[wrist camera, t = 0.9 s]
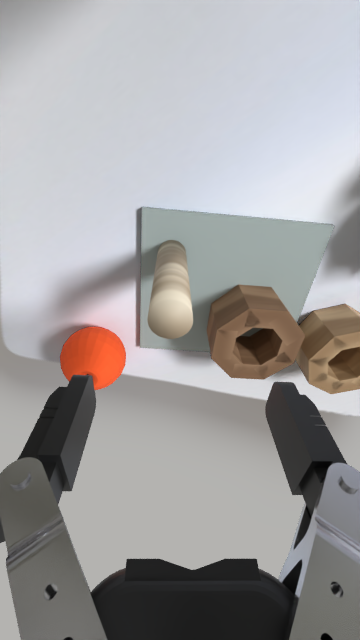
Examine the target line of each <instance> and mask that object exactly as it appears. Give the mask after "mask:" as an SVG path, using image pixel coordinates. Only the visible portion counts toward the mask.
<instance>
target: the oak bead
mask: <svg viewBox="0 0 360 640" xmlns="http://www.w3.org/2000/svg"><path fill="white" fill-rule="evenodd" d="M299 327H300V328H301V330H302V331H303V333H304V334H305V337H304V340H303V342H302V345H301V347H300V349H299V352H298V354H297V356H296V359H295V360H296V362H297V363H298V365H299V367H300V369H301V370H302V372H303V374H304V376H305V378H306V379H307V381H308V383H309V384H311V385H313V386H315V387H317V388H319V389H321V390H323V391H326V392H328V393H330V394H335V393H340V392H346V391H351V390H357V389H360V313H359V312H358V311H356V310H354V309H353V308H351V307H350V306H348V305H346V304H342V305H338V306H333V307H329V308H324V309H320V310H315V311H313V312H312V313H311V314H310V315H309V316H308V317H307V318H306V319H305V320H304V321H303V322H302V323H301V324H300V325H299Z"/></svg>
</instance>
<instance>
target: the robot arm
mask: <svg viewBox="0 0 360 640" xmlns="http://www.w3.org/2000/svg"><path fill="white" fill-rule="evenodd" d="M95 408H96V398H95V391H94V384H93V377H92V375H73V376H72V377H71V380H70V382H69V384H68V386H67V387H59V388H57V389H56V391H54V392H53V393H52V394H51V395H50V397H49V398H48V400H47V402H46V404H45V406H44V410H42V413H41V414H40V418H39V419H38V421H37V423H36V425H35V427H34V429H33V431H32V433H31V435H30V437H29V439H28V441H27V443H26V445H25V447H24V449H23V451H22V453H21V455H20V457H19V458H18V459H17V461H15V462H13V463H11V464H10V465H8V466H7V467H6V468H5V469H4V470H3V471H2V472H1V473H0V543H1V542H4V541H6V546H7V551H8V557H7V559H6V566H7V573H8V578H9V583H10V588H11V593H12V598H13V603H14V607H15V612H16V617H17V623H18V627H19V632H20V637H21V640H360V472H359V471H358V470H356V469H355V468H353V467H352V466H350V465H348V464H347V463H346V461H345V460H344V458H343V456H342V454H341V452H340V450H339V448H338V447H337V445H336V443H335V441H334V440H333V437H332V435H331V434H330V432H329V430H328V428H327V427H326V426H325V425H326V424H325V423H324V421H323V419H322V418H321V415H320V413H319V411H318V410H317V408H316V406H315V404H314V403H313V402H312V401H311V400H310V399H309V398H308V397H307V396H306V395H300V394H299V392H298V390H297V388H296V386H295V385H294V383H292V382H274V384H273V386H272V389H271V392H270V395H269V397H268V400H267V403H266V418H267V421H268V424H269V427H270V430H271V433H272V436H273V439H274V442H275V445H276V448H277V451H278V454H279V457H280V460H281V463H282V465H283V468H284V471H285V474H286V477H287V480H288V483H289V486H290V489H291V492H292V495H303V497H304V500H305V504H304V507H303V510H302V513H301V516H300V519H299V523H298V526H297V529H296V533H295V536H294V539H293V542H292V546H291V549H290V552H289V554H288V557H287V559H286V561H285V563H284V565H283V568H282V570H281V573H280V576H279V579H276V578H275V577H273V576H272V575H270V574H269V573H267V572H265V571H263V570H261V569H258V564H257V559H224V560H221V561H218V562H215V563H213V564H210V565H207V566H204V567H202V568H199V569H196V570H190V569H187V568H184V567H181V566H178V565H175V564H172V563H169V562H167V561H164V560H161V559H127V562H126V568H124V569H122V570H119V571H117V572H115V573H113V574H112V575H110V576H109V577H107V578H106V579H104V580H103V581H102V582H101V583H100V584H99V585H97V586H96V587H95V588H94V589H93V591H92V592H90V589H89V586H88V584H87V581H86V578H85V576H84V573H83V571H82V568H81V565H80V562H79V560H78V557H77V554H76V552H75V549H74V547H73V544H72V541H71V539H70V536H69V533H68V530H67V528H66V525H65V522H64V520H63V517H62V514H61V512H60V509H59V507H58V503H59V500H60V497H61V494H62V491H72V488H73V484H74V481H75V477H76V474H77V471H78V467H79V464H80V461H81V457H82V454H83V450H84V447H85V444H86V440H87V437H88V434H89V430H90V427H91V423H92V420H93V417H94V413H95Z"/></svg>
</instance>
